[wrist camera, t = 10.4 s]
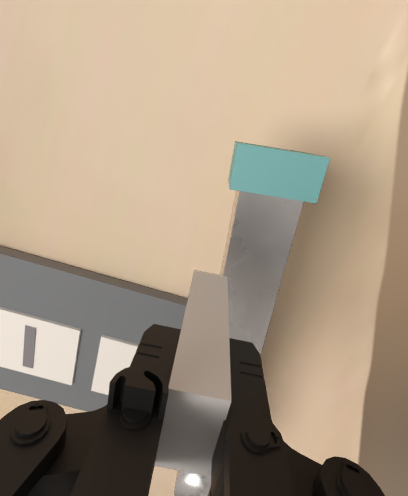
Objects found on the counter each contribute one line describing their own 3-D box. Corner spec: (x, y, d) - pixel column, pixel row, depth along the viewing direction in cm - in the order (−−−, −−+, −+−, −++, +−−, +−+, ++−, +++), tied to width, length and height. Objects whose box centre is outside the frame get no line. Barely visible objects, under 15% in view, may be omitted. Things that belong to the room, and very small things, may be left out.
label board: (209, 432, 33) (206, 497, 27) (-30, 369, 31) (-86, 422, 26) (259, 318, 27) (268, 369, 21) (-33, 236, 26) (-108, 266, 20)
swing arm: (223, 473, 25) (223, 515, 22) (177, 465, 25) (171, 507, 22) (310, 153, 15) (330, 157, 12) (235, 141, 15) (237, 142, 12)
